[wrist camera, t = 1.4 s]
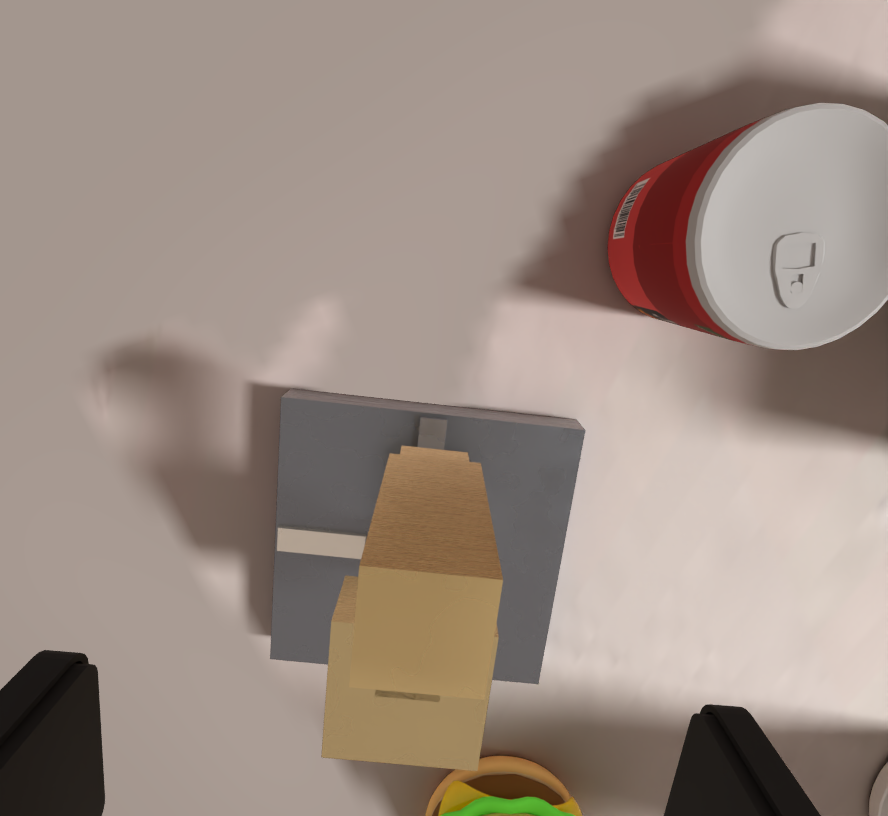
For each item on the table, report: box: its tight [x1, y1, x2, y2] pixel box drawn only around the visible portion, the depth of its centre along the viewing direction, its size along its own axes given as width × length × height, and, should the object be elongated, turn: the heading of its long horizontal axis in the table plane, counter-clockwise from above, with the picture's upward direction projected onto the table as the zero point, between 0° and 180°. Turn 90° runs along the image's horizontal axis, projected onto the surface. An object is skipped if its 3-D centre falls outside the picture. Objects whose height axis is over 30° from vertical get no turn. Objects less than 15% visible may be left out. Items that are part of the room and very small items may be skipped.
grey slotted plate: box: [270, 389, 585, 684], centre depth 29 cm, size 16×16×9 cm
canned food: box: [608, 103, 888, 350], centre depth 24 cm, size 8×8×11 cm
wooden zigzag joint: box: [322, 446, 503, 771], centre depth 18 cm, size 12×6×10 cm, turn 173°
